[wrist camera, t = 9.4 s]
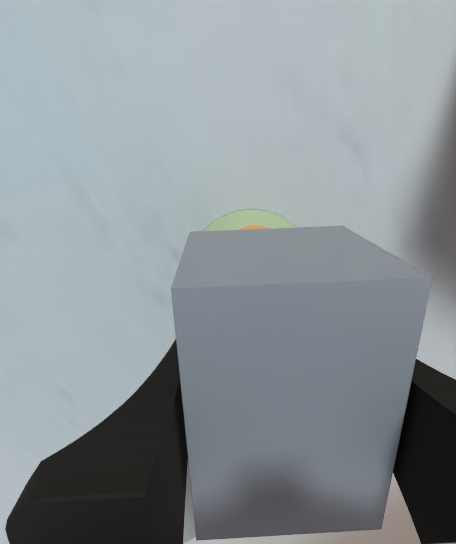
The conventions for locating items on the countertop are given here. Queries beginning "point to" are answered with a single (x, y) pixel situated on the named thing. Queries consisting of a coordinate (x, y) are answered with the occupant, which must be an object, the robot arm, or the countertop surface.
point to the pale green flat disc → (249, 220)
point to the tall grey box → (293, 377)
